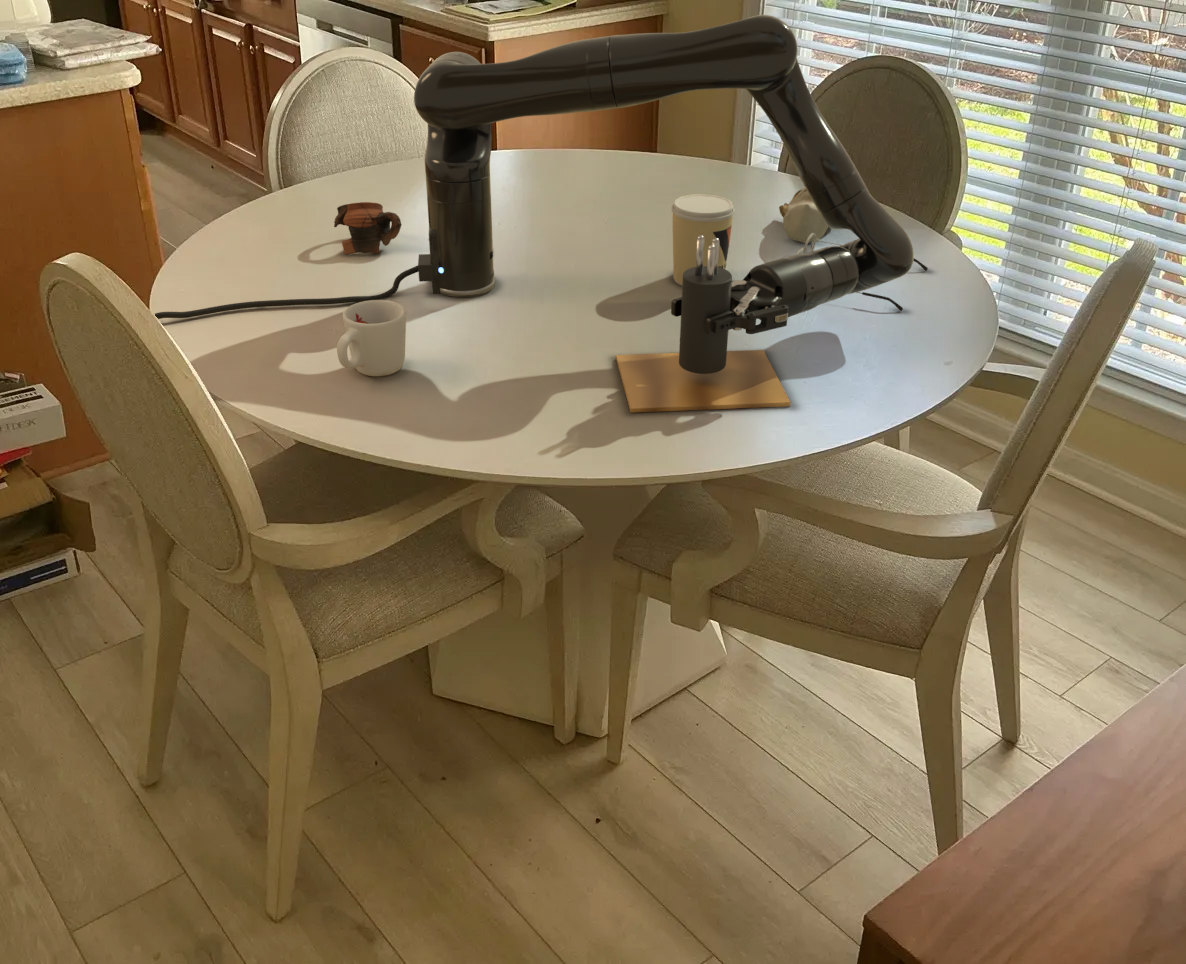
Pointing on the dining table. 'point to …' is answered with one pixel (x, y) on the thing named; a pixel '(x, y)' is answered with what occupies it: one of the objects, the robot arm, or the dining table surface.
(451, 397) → the dining table surface
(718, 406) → the wooden board
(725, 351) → the cutlery holder
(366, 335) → the cup
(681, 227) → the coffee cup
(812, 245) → the eyeglasses
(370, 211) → the pottery mug
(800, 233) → the ceramic sculpture
